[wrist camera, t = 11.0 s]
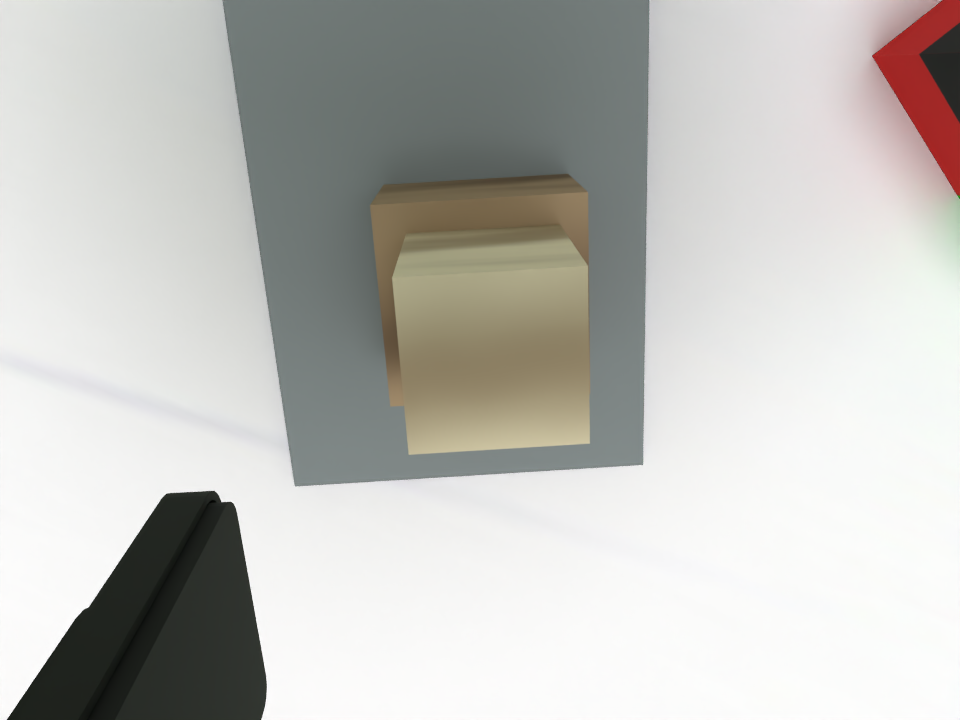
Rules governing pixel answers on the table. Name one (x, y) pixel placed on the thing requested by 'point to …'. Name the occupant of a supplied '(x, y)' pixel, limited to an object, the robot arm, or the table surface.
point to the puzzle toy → (930, 81)
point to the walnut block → (466, 228)
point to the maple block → (493, 339)
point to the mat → (431, 158)
